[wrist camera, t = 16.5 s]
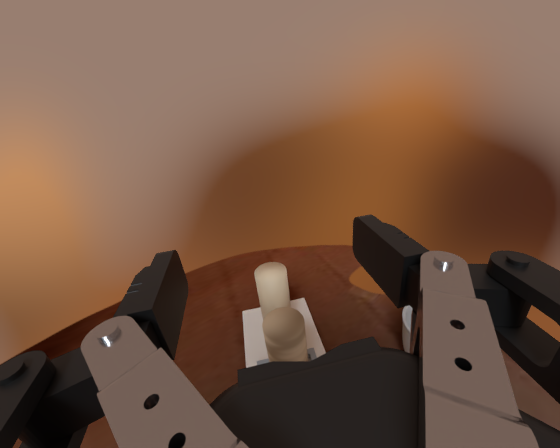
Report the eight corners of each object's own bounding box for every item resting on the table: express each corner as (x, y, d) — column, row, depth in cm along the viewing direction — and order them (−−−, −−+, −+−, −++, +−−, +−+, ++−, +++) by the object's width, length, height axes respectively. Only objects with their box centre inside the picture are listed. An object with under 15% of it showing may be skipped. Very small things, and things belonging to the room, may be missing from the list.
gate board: (354, 432, 30) (356, 356, 24) (253, 461, 28) (230, 387, 23) (304, 303, 50) (299, 244, 44) (243, 317, 48) (230, 257, 42)
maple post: (267, 391, 34) (253, 327, 29) (289, 364, 37) (280, 301, 32) (296, 415, 31) (286, 348, 26) (317, 383, 34) (312, 318, 29)
